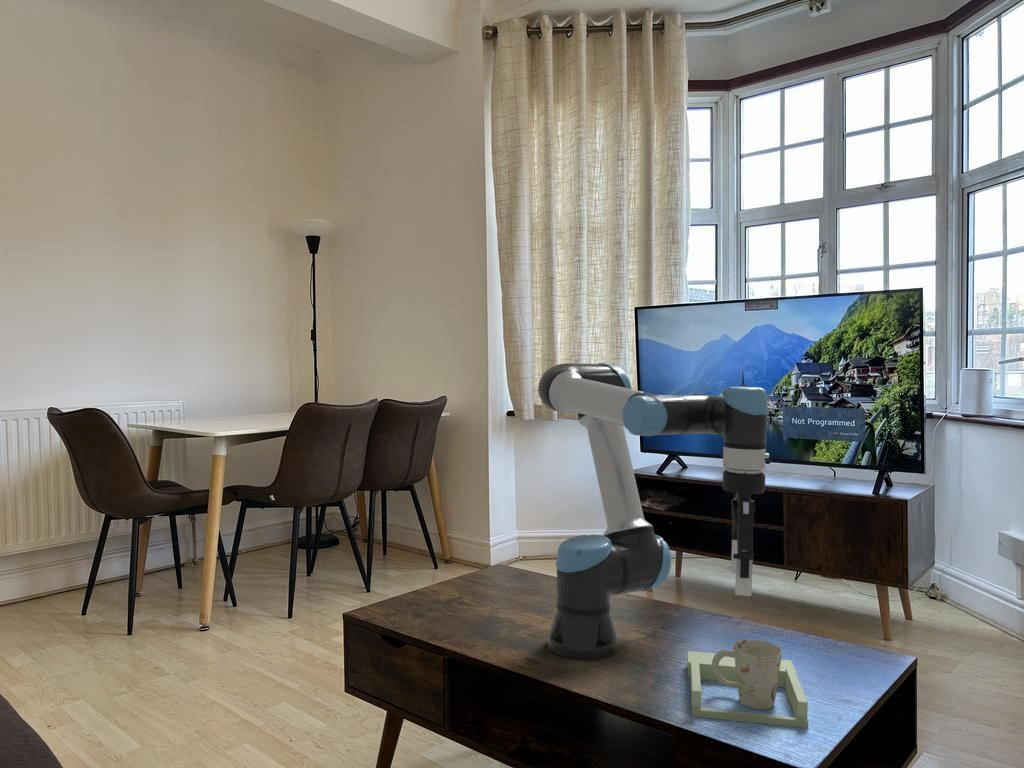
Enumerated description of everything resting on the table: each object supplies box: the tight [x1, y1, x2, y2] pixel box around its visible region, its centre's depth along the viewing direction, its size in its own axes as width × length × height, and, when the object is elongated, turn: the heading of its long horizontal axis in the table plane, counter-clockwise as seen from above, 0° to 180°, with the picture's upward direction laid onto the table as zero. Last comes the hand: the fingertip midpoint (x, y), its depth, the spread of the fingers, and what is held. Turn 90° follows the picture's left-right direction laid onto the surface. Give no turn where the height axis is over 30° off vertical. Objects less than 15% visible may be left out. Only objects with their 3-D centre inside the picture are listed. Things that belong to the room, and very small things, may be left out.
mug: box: [712, 639, 783, 711], centre depth 136 cm, size 8×13×10 cm, turn 58°
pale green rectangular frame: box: [687, 650, 809, 729], centre depth 138 cm, size 20×22×4 cm
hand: (740, 583), depth 138 cm, fingers open, 13 cm apart
